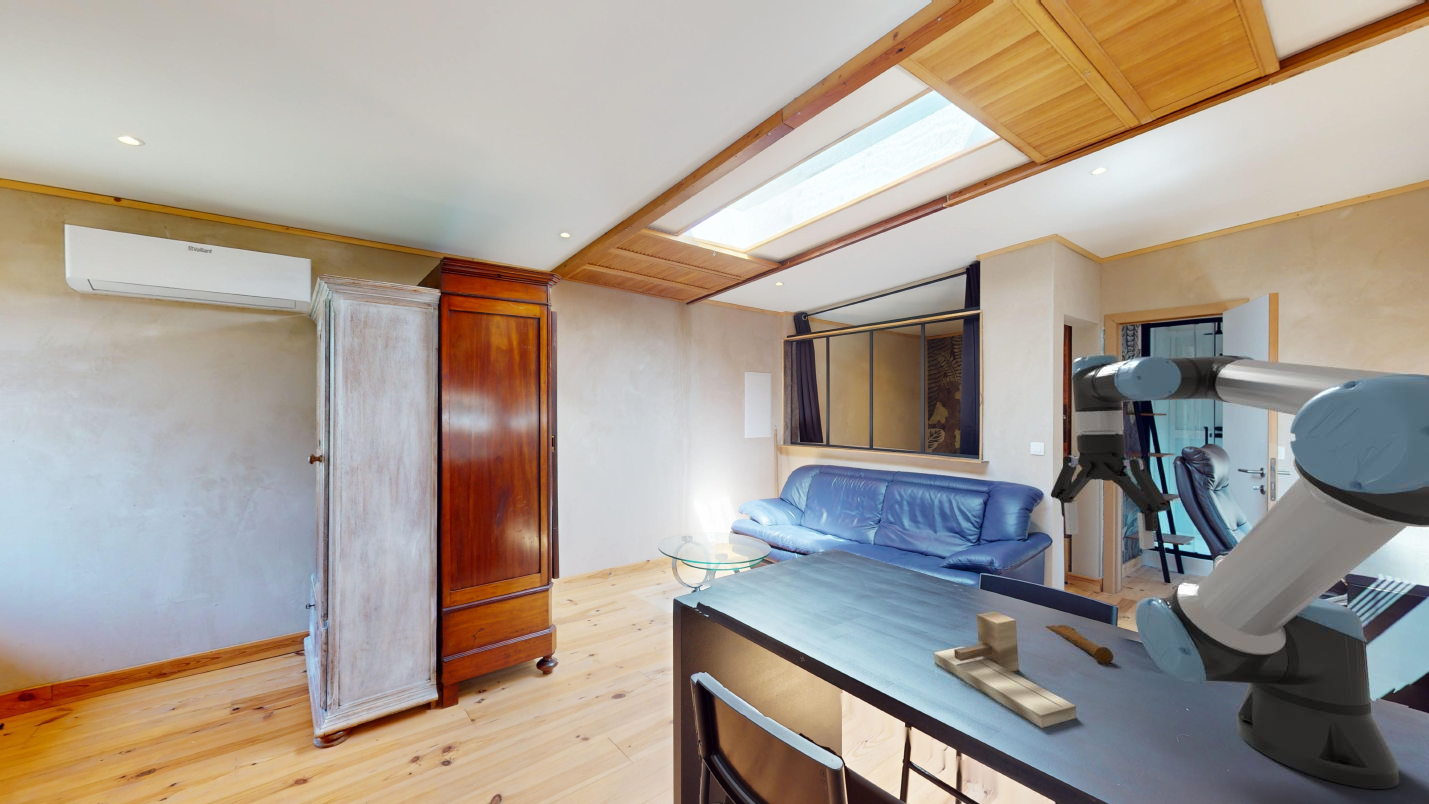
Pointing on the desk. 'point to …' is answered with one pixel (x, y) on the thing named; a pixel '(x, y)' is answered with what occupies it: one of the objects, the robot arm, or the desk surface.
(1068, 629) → the primitive tool
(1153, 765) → the desk surface
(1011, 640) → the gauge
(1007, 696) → the board
